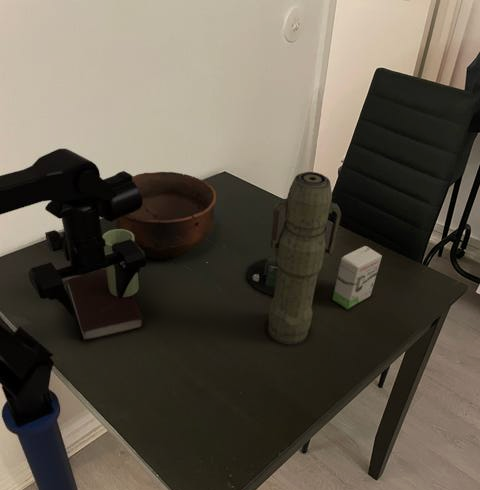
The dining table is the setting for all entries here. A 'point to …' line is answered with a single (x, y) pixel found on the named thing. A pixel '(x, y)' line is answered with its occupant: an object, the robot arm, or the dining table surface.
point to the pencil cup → (111, 239)
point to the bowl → (170, 213)
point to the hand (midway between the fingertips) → (96, 305)
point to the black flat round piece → (264, 275)
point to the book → (102, 307)
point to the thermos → (300, 254)
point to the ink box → (356, 276)
